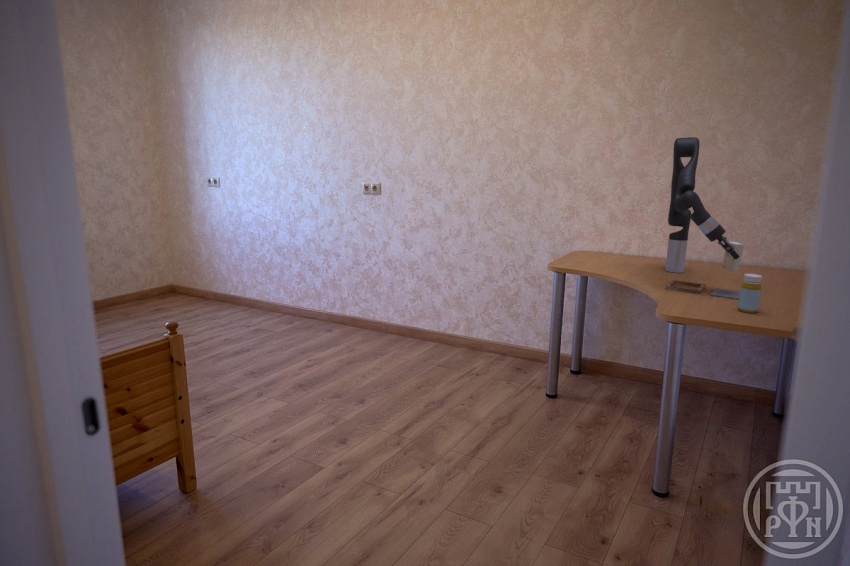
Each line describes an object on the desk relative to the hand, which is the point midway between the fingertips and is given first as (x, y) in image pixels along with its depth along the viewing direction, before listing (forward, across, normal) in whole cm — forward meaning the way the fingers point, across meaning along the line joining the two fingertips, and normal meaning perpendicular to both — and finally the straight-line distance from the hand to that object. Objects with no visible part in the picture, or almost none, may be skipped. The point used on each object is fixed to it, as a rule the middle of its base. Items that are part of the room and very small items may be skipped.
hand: (736, 256), depth 249 cm
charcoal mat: (+12, 0, +13) cm, 18 cm away
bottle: (+16, -25, +10) cm, 31 cm away
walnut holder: (-1, +4, +26) cm, 26 cm away
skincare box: (+3, 0, +6) cm, 6 cm away
